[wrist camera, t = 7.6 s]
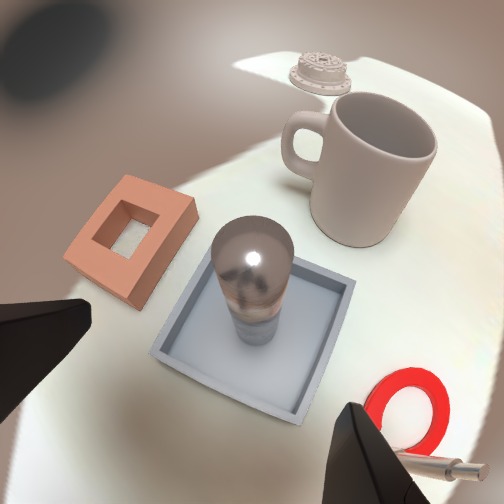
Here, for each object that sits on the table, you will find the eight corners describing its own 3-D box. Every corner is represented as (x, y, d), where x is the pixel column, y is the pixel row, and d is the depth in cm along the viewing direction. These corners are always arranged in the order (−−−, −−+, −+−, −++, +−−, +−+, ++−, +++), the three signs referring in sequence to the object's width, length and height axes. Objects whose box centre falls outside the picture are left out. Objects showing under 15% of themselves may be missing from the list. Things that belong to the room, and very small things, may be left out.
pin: (257, 354, 20) (254, 307, 10) (227, 327, 21) (193, 252, 11) (285, 324, 21) (310, 247, 11) (255, 299, 22) (250, 202, 12)
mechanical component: (323, 103, 37) (361, 89, 40) (327, 77, 33) (367, 67, 36) (276, 77, 41) (317, 66, 44) (277, 54, 37) (319, 45, 40)
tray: (294, 423, 18) (300, 426, 16) (158, 358, 20) (148, 353, 18) (346, 293, 23) (356, 281, 21) (224, 243, 25) (221, 227, 23)
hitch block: (140, 311, 22) (126, 298, 20) (78, 272, 24) (62, 257, 21) (199, 218, 27) (193, 197, 24) (135, 193, 28) (126, 174, 26)
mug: (394, 195, 28) (434, 115, 19) (384, 261, 25) (443, 180, 15) (290, 159, 31) (301, 70, 21) (261, 217, 27) (265, 117, 17)
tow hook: (412, 350, 21) (329, 419, 18) (524, 287, 10) (434, 421, 7) (455, 418, 18) (380, 491, 15) (571, 393, 6) (493, 529, 4)
